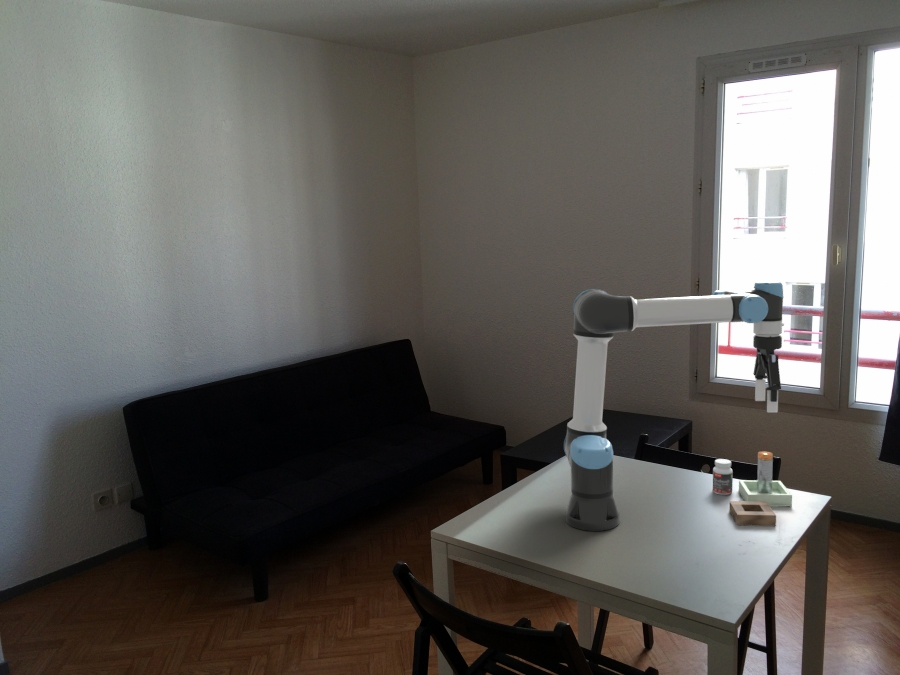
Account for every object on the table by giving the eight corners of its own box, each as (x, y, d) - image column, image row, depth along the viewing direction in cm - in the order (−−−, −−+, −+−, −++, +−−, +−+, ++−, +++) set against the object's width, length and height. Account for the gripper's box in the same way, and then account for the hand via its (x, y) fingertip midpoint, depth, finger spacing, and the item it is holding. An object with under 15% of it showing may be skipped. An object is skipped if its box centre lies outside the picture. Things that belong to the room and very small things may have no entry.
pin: (759, 497, 216) (759, 455, 214) (755, 492, 220) (756, 451, 218) (773, 498, 215) (774, 455, 213) (769, 493, 219) (770, 451, 217)
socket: (737, 525, 200) (737, 514, 200) (729, 510, 210) (729, 500, 209) (775, 525, 198) (776, 515, 198) (766, 511, 208) (766, 501, 208)
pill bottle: (712, 494, 223) (712, 463, 221) (713, 488, 228) (713, 457, 226) (732, 496, 221) (732, 464, 219) (732, 489, 226) (733, 459, 224)
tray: (748, 505, 213) (748, 494, 212) (738, 491, 224) (738, 480, 224) (791, 506, 211) (792, 495, 210) (780, 491, 222) (780, 480, 222)
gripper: (794, 341, 197) (792, 417, 201) (769, 328, 222) (768, 396, 225) (765, 341, 199) (763, 417, 202) (743, 328, 223) (742, 396, 226)
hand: (766, 406), depth 213 cm, fingers open, 13 cm apart
